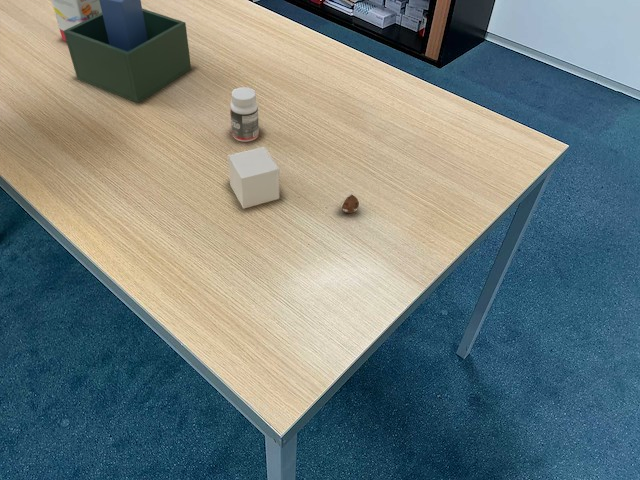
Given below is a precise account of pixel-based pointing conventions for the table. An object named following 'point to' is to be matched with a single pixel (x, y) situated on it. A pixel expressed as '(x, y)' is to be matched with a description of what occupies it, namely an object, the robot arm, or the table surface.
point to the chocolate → (350, 203)
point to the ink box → (74, 12)
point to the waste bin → (130, 56)
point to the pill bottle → (244, 114)
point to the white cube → (254, 177)
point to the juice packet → (124, 23)
